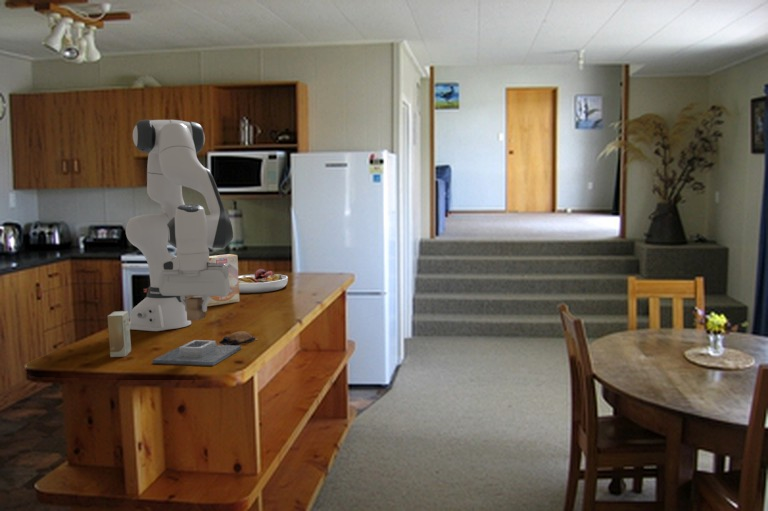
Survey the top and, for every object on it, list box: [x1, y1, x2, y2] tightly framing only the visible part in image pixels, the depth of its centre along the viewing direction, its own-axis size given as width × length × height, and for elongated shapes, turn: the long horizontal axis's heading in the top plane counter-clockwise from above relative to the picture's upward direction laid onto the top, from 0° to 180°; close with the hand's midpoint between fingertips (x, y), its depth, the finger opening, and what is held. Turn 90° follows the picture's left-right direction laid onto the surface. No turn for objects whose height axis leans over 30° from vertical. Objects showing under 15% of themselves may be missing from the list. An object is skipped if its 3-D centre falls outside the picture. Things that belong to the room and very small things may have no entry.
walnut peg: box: [186, 296, 206, 322], centre depth 189 cm, size 5×3×6 cm, turn 168°
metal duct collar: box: [152, 339, 242, 367], centre depth 191 cm, size 18×18×4 cm
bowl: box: [238, 268, 289, 294], centre depth 311 cm, size 30×30×8 cm
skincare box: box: [107, 310, 132, 358], centre depth 194 cm, size 6×4×12 cm
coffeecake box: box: [207, 253, 240, 307], centre depth 274 cm, size 15×7×20 cm, turn 131°
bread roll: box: [218, 330, 259, 346], centre depth 207 cm, size 11×8×4 cm
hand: (196, 311), depth 189 cm, fingers closed on walnut peg, 3 cm apart
